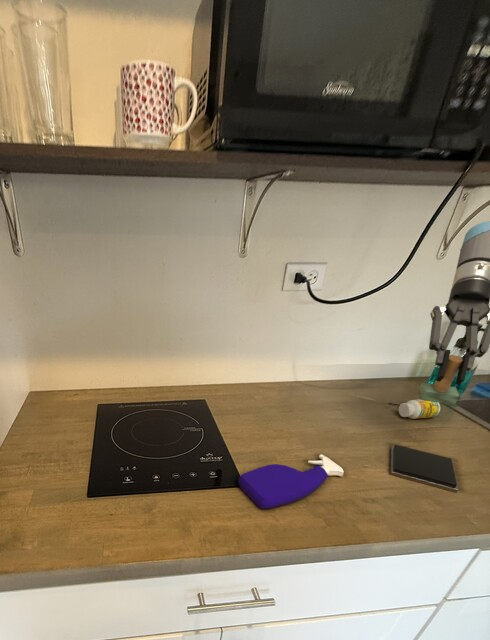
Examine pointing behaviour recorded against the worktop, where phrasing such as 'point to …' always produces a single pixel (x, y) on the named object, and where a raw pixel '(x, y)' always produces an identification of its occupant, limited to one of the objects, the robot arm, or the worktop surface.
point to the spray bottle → (285, 482)
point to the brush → (443, 385)
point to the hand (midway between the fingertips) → (449, 380)
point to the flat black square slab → (423, 468)
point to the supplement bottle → (419, 409)
